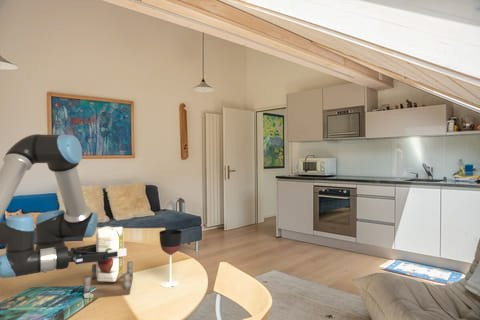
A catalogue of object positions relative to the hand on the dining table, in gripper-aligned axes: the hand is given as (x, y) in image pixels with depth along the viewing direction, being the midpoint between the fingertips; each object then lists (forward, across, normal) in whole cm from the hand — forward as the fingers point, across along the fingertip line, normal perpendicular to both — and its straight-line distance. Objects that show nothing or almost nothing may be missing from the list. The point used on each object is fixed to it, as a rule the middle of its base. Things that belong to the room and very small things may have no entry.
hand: (122, 248), depth 124 cm
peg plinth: (-5, 0, -14) cm, 15 cm away
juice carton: (-5, 0, -11) cm, 12 cm away
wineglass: (+16, +8, -14) cm, 23 cm away
